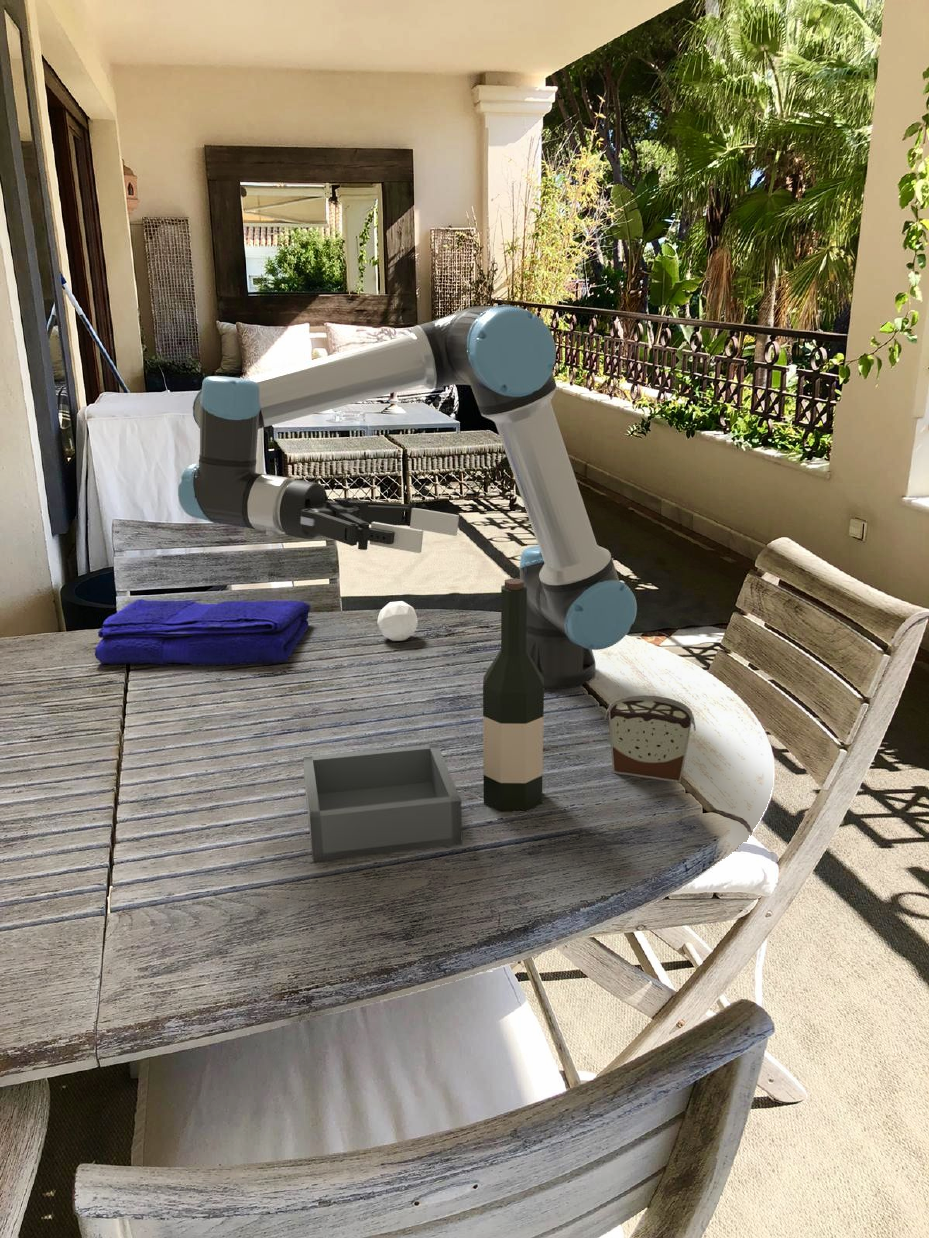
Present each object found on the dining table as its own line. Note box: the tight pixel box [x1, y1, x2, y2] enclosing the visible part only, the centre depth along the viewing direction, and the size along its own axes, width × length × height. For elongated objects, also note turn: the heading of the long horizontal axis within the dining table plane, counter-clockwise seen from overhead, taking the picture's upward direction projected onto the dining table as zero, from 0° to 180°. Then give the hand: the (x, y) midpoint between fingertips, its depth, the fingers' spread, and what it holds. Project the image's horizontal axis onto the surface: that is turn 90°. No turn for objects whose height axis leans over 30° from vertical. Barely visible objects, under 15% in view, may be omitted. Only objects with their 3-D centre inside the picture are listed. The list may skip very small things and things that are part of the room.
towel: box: [94, 598, 311, 666], centre depth 188 cm, size 26×36×9 cm
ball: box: [376, 600, 419, 642], centre depth 190 cm, size 8×8×8 cm
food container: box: [604, 694, 696, 783], centre depth 137 cm, size 12×6×10 cm, turn 71°
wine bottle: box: [482, 578, 545, 813], centre depth 126 cm, size 8×8×30 cm
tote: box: [302, 743, 463, 863], centre depth 124 cm, size 18×16×6 cm
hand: (440, 533), depth 124 cm, fingers open, 13 cm apart
